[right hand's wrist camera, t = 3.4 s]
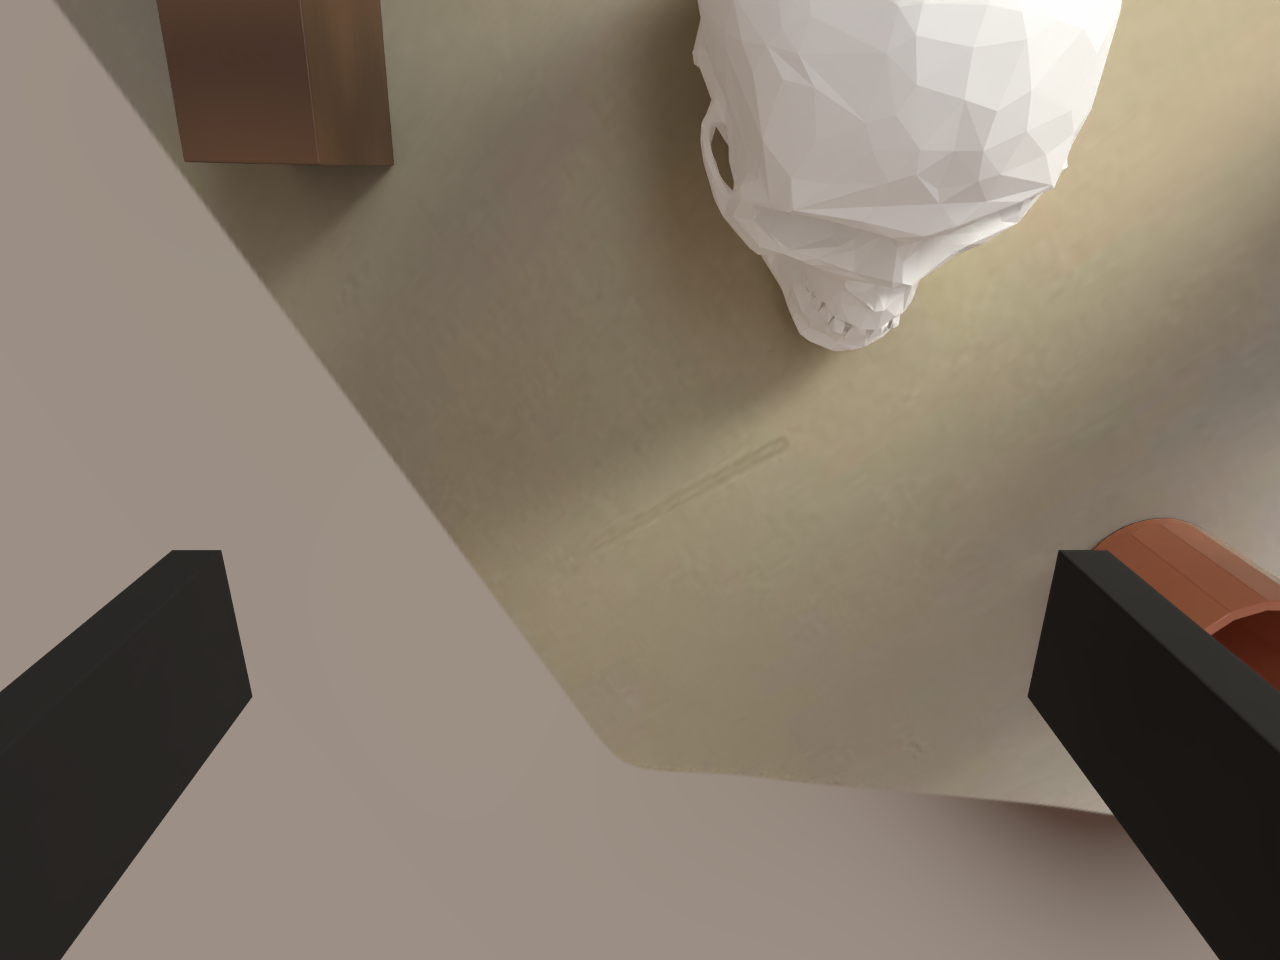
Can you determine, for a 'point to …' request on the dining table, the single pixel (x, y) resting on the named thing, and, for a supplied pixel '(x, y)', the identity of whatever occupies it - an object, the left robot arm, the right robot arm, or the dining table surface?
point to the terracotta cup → (1208, 586)
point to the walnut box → (278, 81)
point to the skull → (888, 136)
